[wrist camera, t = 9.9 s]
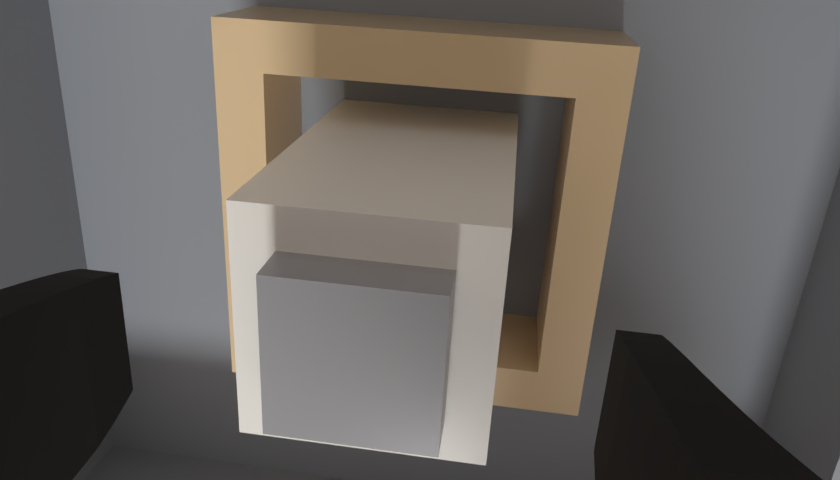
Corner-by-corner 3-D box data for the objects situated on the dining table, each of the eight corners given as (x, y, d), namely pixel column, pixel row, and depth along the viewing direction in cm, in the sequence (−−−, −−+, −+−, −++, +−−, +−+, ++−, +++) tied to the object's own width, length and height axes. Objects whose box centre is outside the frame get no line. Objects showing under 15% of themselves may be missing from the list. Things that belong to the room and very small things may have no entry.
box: (750, 538, 21) (805, 685, 17) (103, 446, 23) (10, 557, 19) (1009, -295, 13) (1234, -406, 9) (-12, -315, 15) (-215, -412, 11)
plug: (501, 274, 18) (483, 502, 10) (342, 257, 18) (220, 465, 11) (518, 114, 16) (510, 252, 9) (343, 99, 16) (201, 220, 9)
